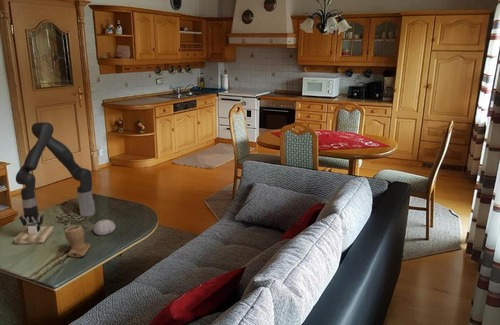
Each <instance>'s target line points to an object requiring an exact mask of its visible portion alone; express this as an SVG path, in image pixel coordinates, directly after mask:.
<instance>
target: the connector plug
mask: <svg viewBox="0 0 500 325" xmlns="http://www.w3.org/2000/svg"><path fill="white" fill-rule="evenodd" d="M27 226H28V232H29V235H38V234H39V233H40V230H39V232H37V227H36V223H34V221H30V222H29V223H27ZM27 226H26V227H27Z"/></svg>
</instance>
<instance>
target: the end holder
mask: <svg viewBox="0 0 500 325" xmlns="http://www.w3.org/2000/svg"><path fill="white" fill-rule="evenodd" d="M54 233H55V231H54V226H51V225H50V226H40V233H39V234H38V235H29V232H28V230H27V227H25V228H24V229H23V230H22V231H21V232H20V233H19V234H18V235H17V236H15V237H14V244H15V246H20V245H21V246H26V245H29V246H30V245H44V244H45V243H46V242H47V241H48V239H49V238H50V237H51V236H52V235H53V234H54Z"/></svg>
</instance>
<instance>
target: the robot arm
mask: <svg viewBox="0 0 500 325" xmlns="http://www.w3.org/2000/svg"><path fill="white" fill-rule="evenodd" d="M31 133H32V134H33V136H35V138H36V139H37V141H36V142H35V144H34V145H33V146H32V148H31V149H30V150H29V152H28V153H27V155H26V157H25V160H24V162H23V165H22V166H21V167H20V169H19V170H18V172H17V173H16V175H15V182H16V183H17V184H18V185H23V186H25V187H23V188H22V189H20V195H21V196H20V197H21V206H22V211H23V214H22V215H21V216H19V220H20V221H21V222H20V223H22V226H26V228H27V230H28V226H27V223H29V222H30V221H34V223H36V227H37V232H39V230H40V227H41V226H42V224H43V223H44V218H45V215H44V214H40V213H39V210H38V209H39V208H38V202H37V198H36V194H35V188H36V183H37V182H36V176H35V175H34V174H33V173H31V171H35V170H37V167H38V165H39V162H40V159H41V157H42V154H43V152H44V150H45V148H47V150H48V151H50V152H51V153H52V154H53V156H54V157H55V158H56V159H57V160H58V161H59V163H60V164H62V165H63V166H64V167H65V169H67V171H68V172H69V174H70V175H71V177H72V178H73V179H74V180H75V181H77V182H79V183H80V184H79V186H78V187H76V193H77V199H78V207H79V214H80V216H81V217H90V216H94V215H95V213H96V207H95V200H94V198H93V197H94V196H93V190H92V189H93V188H92V187H93V174H92V172H91V170H90V169H88V168H84V167H81V166H80V165H79V164H78V163H77V162H76V160H75V158H74V157H75V156H74V155H73V154H74V153H73V152H72V151H71V150H70V149H69V148H68V146H66V144H64V143H63V142H61V141H59V140H58V139H56V138H54V137H53V136H52V135H53V134H54V126H53V124H52V123H50V122H47V121H46V122H44V121H43V122H42V121H41V122H40V121H39V122H36V123H35V122H34V123H33V124H32V125H31Z"/></svg>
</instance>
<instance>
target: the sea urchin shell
mask: <svg viewBox="0 0 500 325" xmlns="http://www.w3.org/2000/svg"><path fill="white" fill-rule="evenodd" d="M115 229H116V224H115V223H114V222H113V221H112V220H109V219H101V220H99V221H97V222H96V223H95V224H94V226H93V232H94V233H95V234H96V235H98V236H105V235H108V234H112V233H113V232H114V231H116V230H115Z"/></svg>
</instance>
